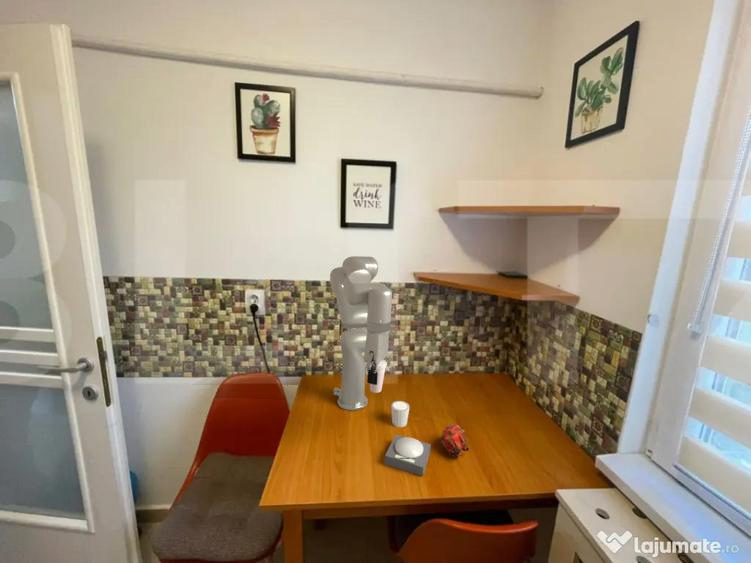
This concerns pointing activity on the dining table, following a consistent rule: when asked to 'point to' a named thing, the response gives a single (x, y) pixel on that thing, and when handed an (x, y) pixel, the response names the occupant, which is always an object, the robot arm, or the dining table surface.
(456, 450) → the dragon fruit
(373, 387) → the smoothie
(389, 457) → the scale
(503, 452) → the dining table surface
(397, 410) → the white cup
